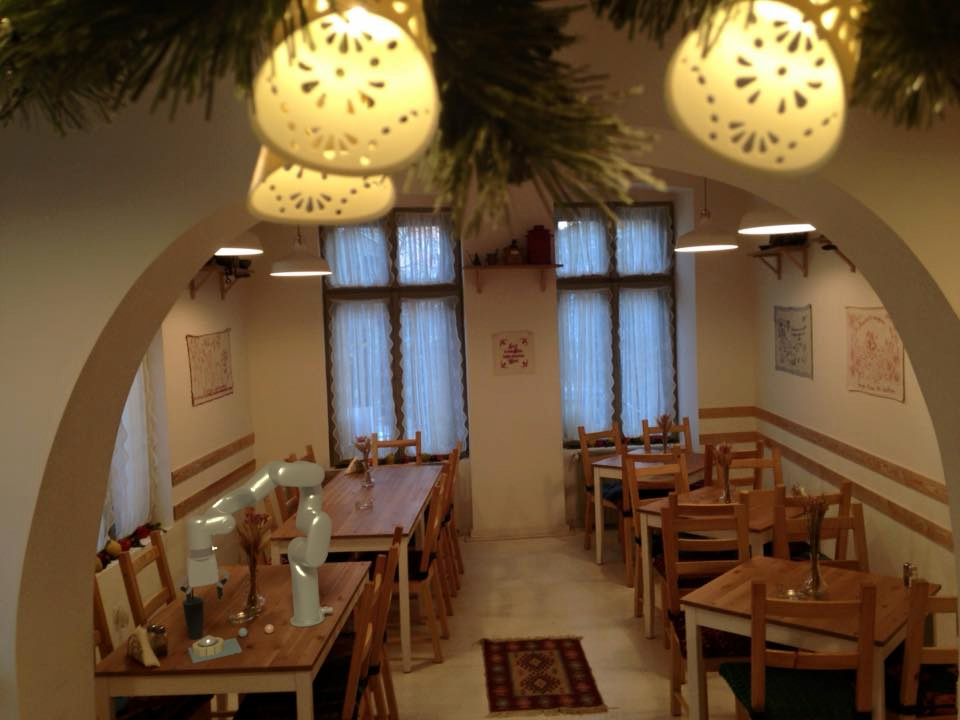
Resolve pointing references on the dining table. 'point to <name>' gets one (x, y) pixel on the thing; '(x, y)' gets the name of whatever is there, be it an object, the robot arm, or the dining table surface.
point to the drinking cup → (194, 616)
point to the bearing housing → (214, 649)
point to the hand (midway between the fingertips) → (205, 601)
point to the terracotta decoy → (269, 628)
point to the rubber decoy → (242, 632)
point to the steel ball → (207, 641)
